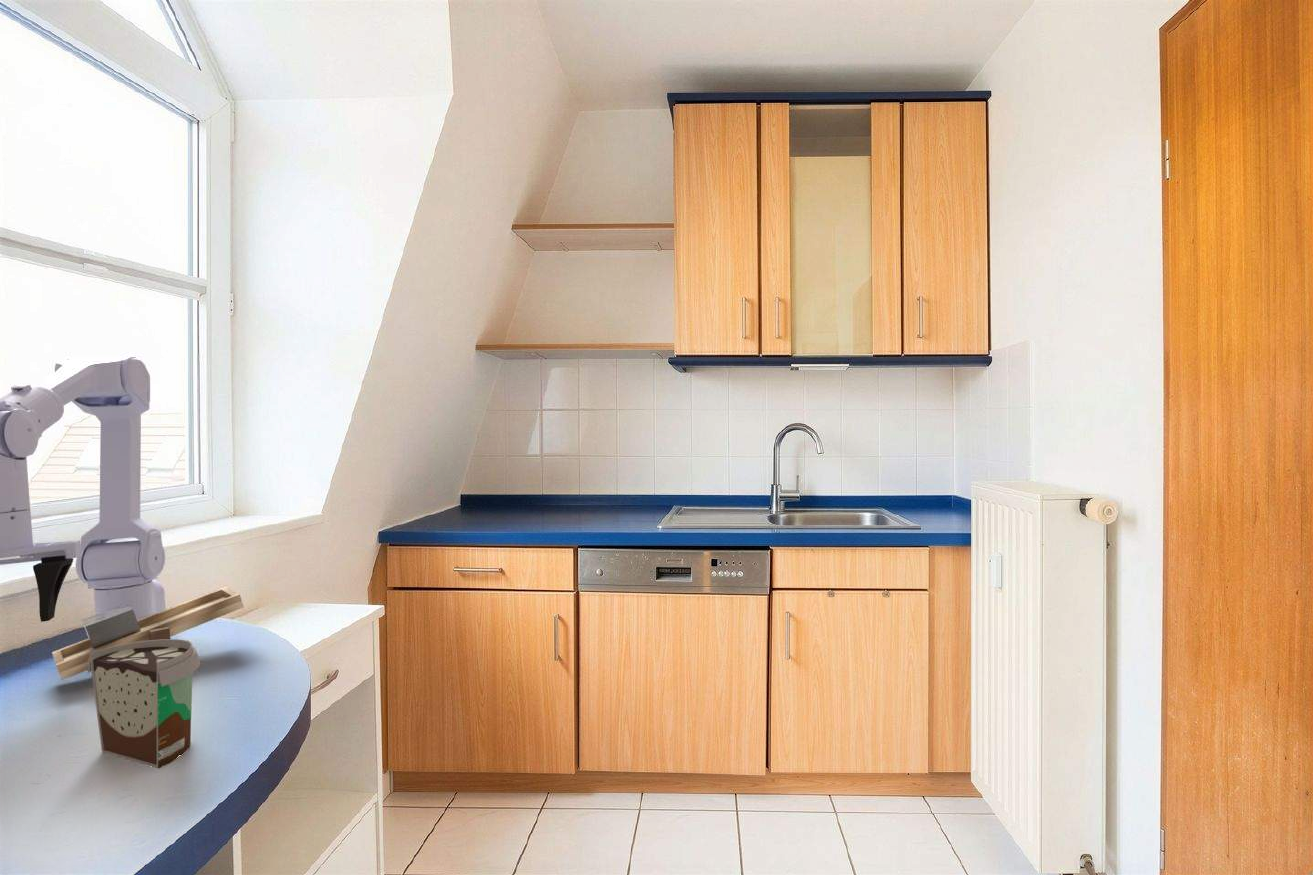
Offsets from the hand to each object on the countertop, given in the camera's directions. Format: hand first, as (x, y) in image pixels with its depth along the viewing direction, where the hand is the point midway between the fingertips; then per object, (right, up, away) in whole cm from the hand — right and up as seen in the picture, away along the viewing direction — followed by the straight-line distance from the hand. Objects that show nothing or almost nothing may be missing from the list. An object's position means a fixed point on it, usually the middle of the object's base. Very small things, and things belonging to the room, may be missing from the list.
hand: (6, 624), depth 81 cm
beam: (+9, -4, +12) cm, 15 cm away
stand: (+9, -9, +12) cm, 17 cm away
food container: (+28, -9, -13) cm, 32 cm away
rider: (+6, -5, +9) cm, 12 cm away
